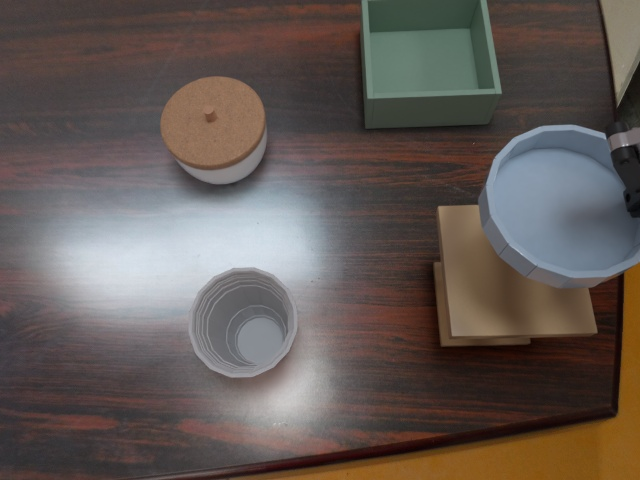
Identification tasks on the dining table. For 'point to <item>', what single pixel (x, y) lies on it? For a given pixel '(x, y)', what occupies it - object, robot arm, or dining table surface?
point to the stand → (496, 292)
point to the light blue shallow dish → (559, 208)
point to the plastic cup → (242, 322)
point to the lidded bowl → (215, 129)
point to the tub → (427, 63)
